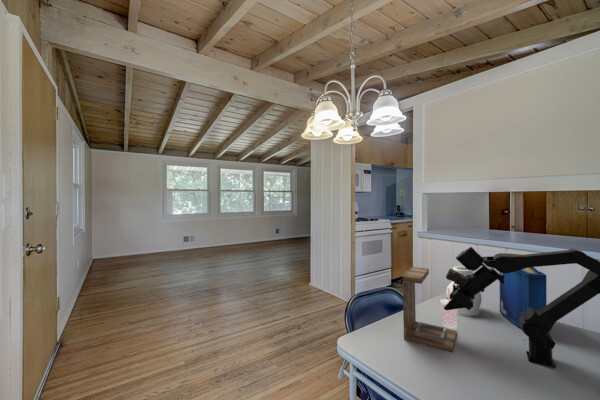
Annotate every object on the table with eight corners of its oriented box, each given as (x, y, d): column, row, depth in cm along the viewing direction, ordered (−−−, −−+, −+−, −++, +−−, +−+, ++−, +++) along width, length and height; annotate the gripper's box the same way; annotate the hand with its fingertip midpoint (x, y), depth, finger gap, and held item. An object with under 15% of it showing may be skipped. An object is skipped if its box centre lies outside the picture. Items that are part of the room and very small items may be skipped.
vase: (476, 306, 131) (475, 265, 131) (486, 318, 117) (485, 273, 117) (443, 303, 135) (442, 263, 135) (450, 315, 122) (449, 271, 122)
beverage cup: (442, 320, 104) (441, 284, 104) (460, 325, 100) (459, 287, 100) (438, 326, 100) (437, 288, 100) (457, 331, 96) (456, 292, 96)
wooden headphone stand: (452, 352, 92) (451, 282, 92) (403, 339, 101) (402, 275, 101) (456, 333, 105) (455, 271, 106) (413, 323, 114) (412, 266, 115)
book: (551, 339, 100) (549, 271, 100) (529, 337, 101) (527, 271, 101) (516, 314, 121) (515, 259, 121) (499, 313, 122) (497, 258, 123)
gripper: (460, 258, 106) (429, 282, 112) (460, 268, 90) (425, 296, 96) (484, 280, 102) (452, 304, 108) (489, 295, 86) (451, 323, 92)
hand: (444, 306), depth 101 cm, fingers closed on beverage cup, 6 cm apart
